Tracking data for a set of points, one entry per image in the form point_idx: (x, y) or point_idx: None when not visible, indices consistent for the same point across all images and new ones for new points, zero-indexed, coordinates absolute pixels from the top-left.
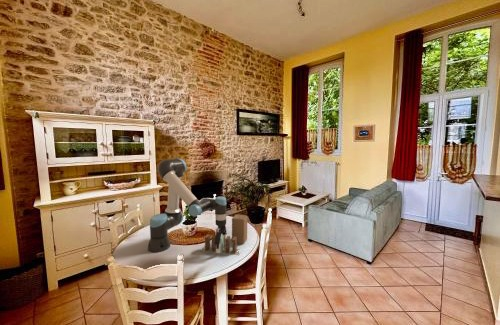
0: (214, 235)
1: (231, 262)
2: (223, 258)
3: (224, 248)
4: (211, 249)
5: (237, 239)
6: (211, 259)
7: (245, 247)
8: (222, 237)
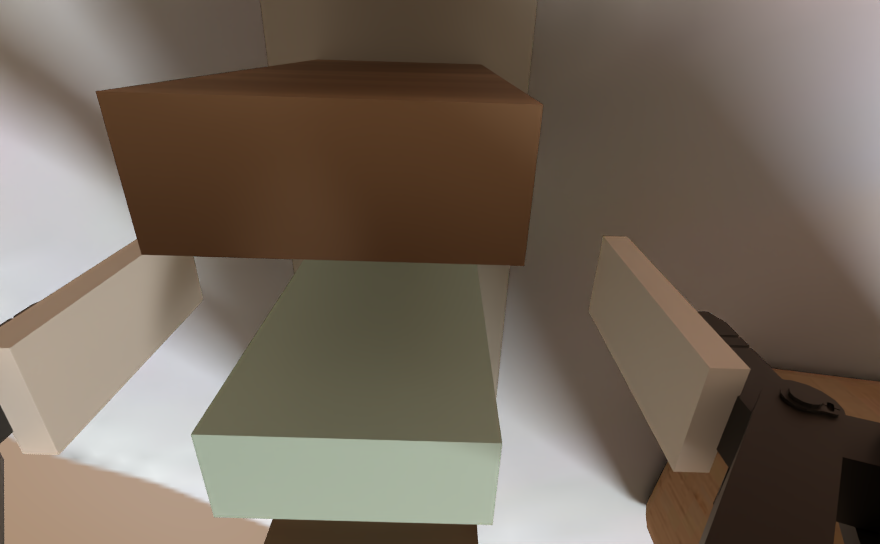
0: (455, 162)
1: (131, 448)
2: (178, 336)
3: (486, 287)
4: (401, 19)
5: (707, 511)
6: (53, 150)
7: (559, 534)
8: (346, 513)
